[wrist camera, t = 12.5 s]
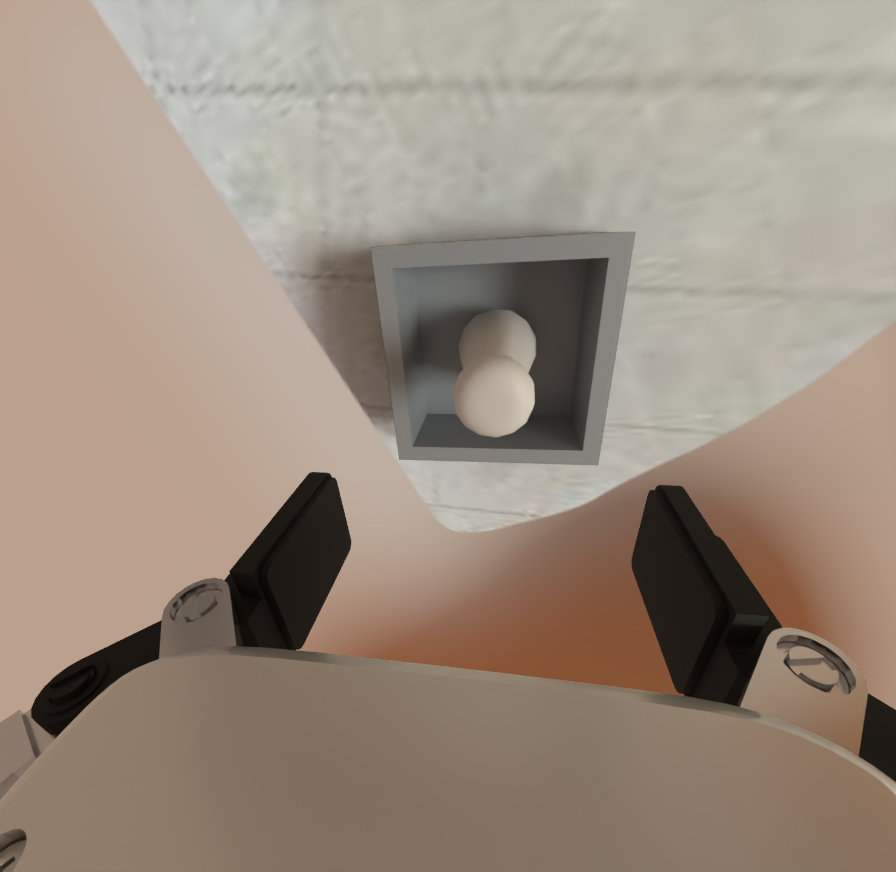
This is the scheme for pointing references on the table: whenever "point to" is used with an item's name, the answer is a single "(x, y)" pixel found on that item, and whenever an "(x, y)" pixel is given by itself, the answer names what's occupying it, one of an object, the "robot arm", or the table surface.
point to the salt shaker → (495, 373)
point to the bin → (531, 297)
